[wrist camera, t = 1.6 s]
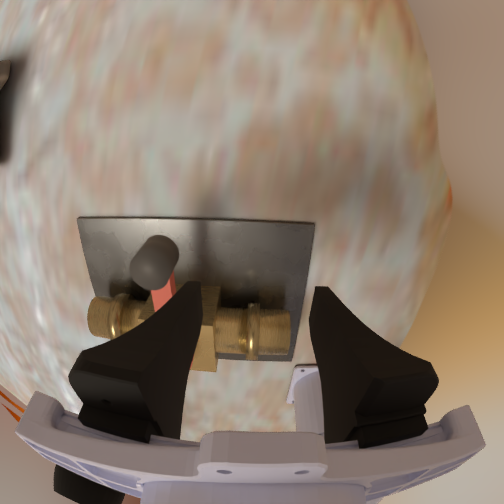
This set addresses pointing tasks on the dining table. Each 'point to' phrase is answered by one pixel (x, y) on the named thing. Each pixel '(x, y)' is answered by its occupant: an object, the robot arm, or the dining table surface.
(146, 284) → the lever
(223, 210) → the dining table surface
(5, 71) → the pipe fitting
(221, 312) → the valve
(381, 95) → the dining table surface
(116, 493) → the wine glass
